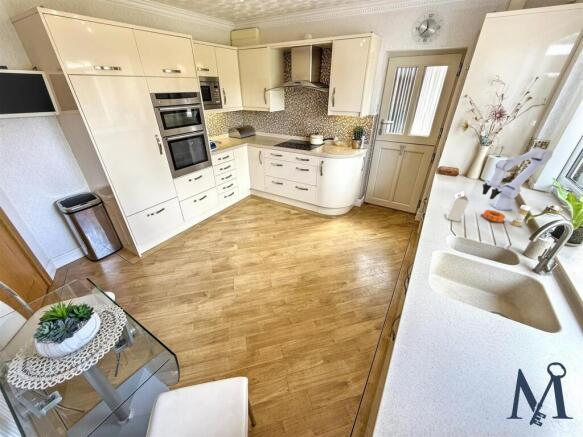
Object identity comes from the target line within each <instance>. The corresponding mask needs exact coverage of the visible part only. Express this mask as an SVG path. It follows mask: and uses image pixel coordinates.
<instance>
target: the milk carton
mask: <svg viewBox="0 0 583 437" xmlns="http://www.w3.org/2000/svg"><path fill="white" fill-rule="evenodd" d="M469 203H470V199H469V197H468V196H467V195H466V192H465V190H464V189H463V190H462V191H461V192H458V193H455V194H454V195H453V198H452V200H451V202H450V204H449V206H448V208H447V211H446V213H445V217H446V220H450V221H453V222H458V223H460V222H461V219H462V217H463V215H464V213H465V211H466V209H467V207H468V205H469Z"/></svg>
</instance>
